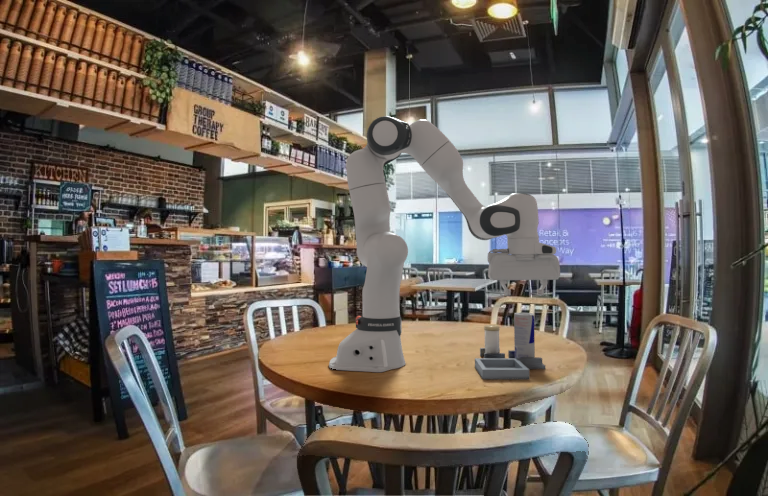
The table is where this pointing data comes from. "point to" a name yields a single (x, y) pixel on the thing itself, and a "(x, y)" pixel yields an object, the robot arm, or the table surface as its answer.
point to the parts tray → (501, 368)
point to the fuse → (491, 339)
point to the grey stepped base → (528, 361)
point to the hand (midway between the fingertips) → (523, 295)
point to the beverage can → (524, 335)
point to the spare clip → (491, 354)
